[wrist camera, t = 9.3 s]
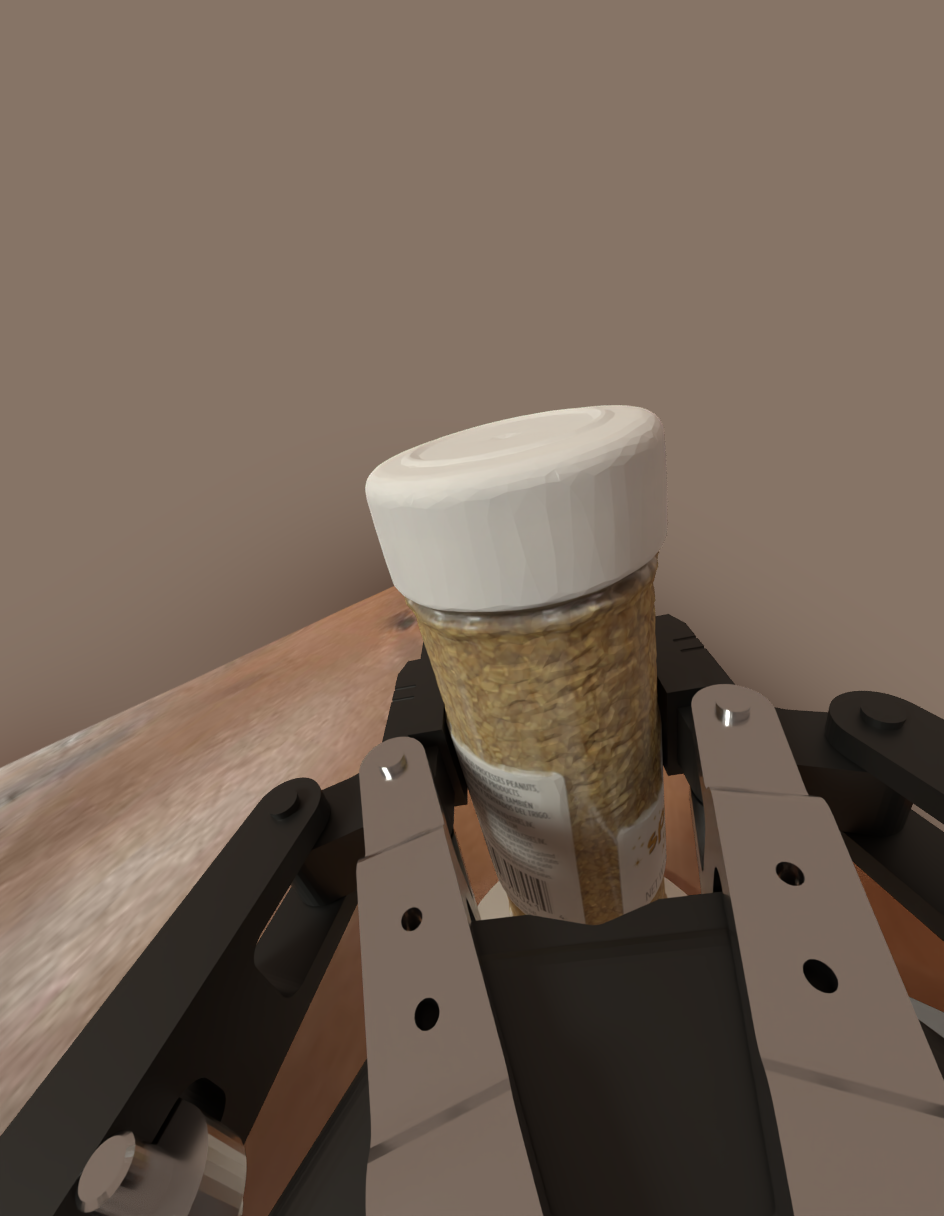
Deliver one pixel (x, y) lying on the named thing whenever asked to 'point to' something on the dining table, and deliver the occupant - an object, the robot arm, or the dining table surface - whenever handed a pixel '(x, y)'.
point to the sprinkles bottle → (544, 641)
